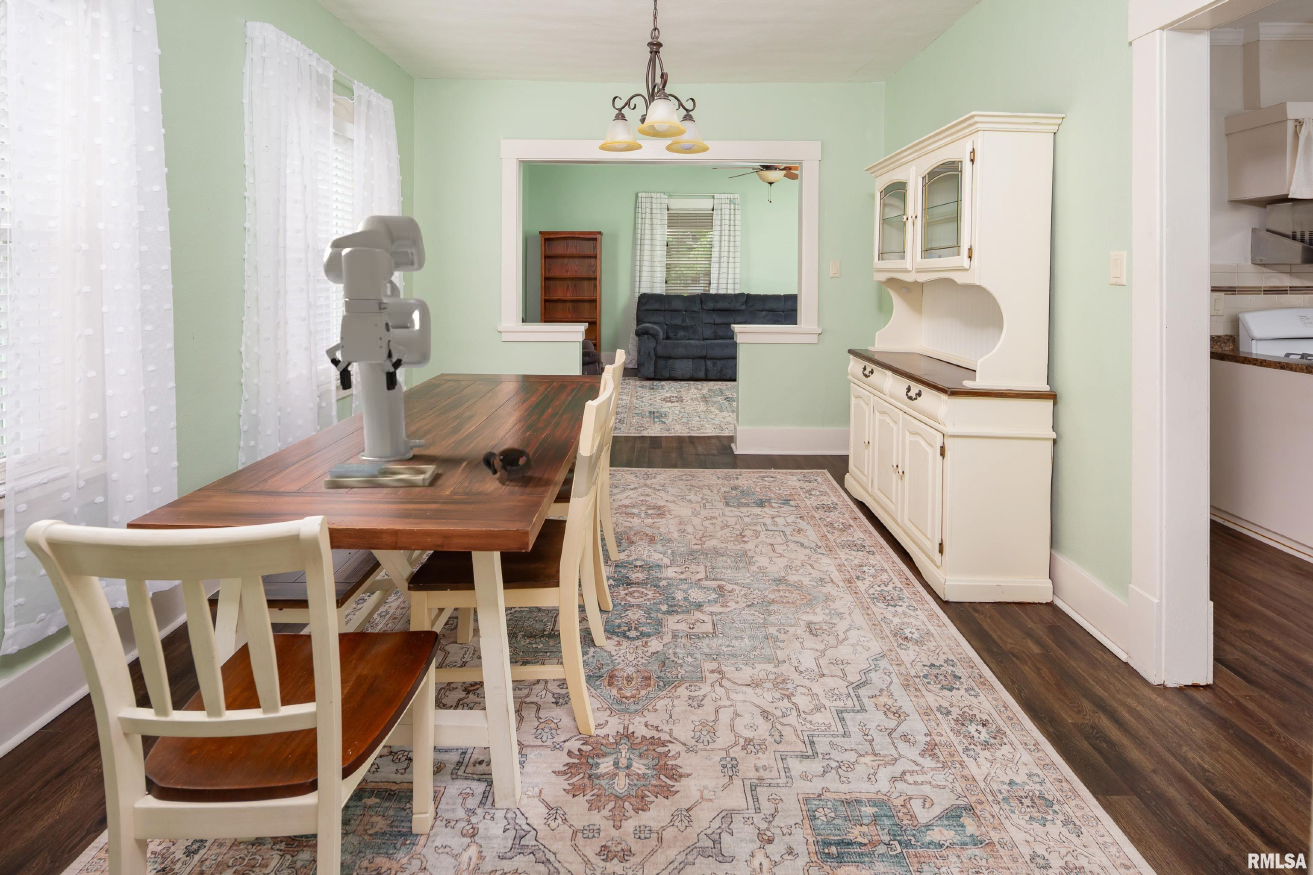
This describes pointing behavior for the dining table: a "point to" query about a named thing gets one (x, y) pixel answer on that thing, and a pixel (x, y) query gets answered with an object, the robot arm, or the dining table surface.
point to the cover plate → (358, 470)
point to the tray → (390, 478)
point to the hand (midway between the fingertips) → (369, 389)
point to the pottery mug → (508, 463)
